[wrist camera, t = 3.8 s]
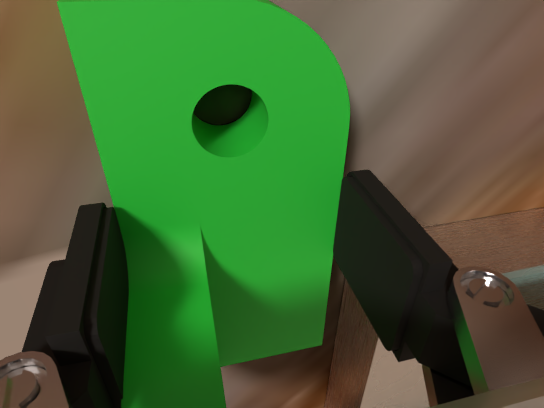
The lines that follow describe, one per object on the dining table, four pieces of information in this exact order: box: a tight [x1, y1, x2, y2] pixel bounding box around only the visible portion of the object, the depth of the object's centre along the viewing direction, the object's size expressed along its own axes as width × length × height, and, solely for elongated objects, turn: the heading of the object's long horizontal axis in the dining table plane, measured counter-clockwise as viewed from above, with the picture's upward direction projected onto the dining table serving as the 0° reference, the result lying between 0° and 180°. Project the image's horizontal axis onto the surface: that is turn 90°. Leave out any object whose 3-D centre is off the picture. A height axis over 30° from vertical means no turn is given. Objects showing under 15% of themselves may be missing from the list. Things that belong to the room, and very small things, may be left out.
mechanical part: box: [57, 0, 350, 408], centre depth 9 cm, size 12×6×8 cm, turn 0°
